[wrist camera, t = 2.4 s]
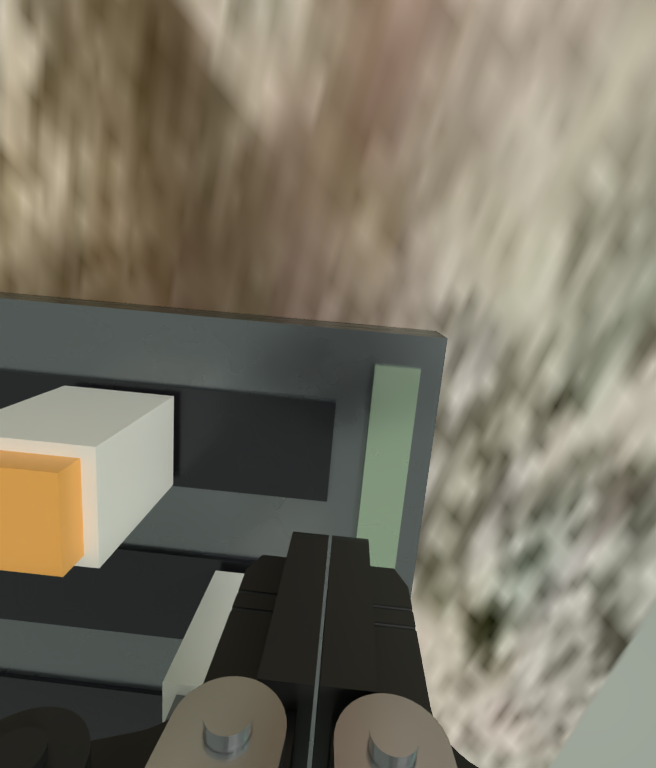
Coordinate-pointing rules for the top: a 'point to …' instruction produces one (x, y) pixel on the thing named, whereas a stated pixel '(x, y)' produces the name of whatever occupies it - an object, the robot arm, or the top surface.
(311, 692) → the robot arm
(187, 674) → the breaker
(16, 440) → the block
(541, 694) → the top surface
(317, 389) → the breaker board
